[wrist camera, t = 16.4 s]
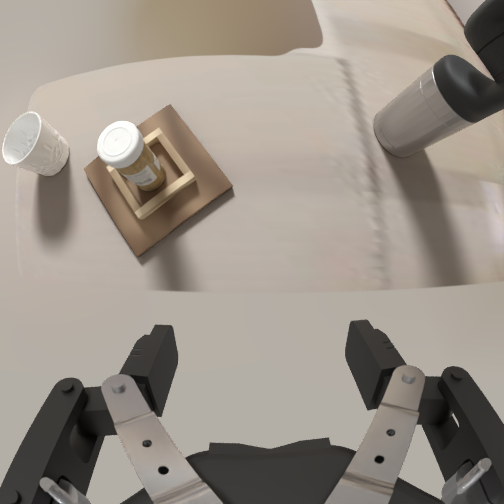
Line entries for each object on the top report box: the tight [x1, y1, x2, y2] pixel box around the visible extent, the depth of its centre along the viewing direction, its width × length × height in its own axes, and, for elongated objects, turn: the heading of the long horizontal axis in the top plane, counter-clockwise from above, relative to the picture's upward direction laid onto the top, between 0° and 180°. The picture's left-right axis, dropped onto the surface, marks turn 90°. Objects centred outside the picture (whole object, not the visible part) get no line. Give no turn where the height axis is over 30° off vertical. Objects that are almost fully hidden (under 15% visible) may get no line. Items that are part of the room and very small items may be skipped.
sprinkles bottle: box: [97, 121, 165, 191], centre depth 30 cm, size 5×5×14 cm
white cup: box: [2, 112, 69, 176], centre depth 31 cm, size 8×8×10 cm
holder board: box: [84, 104, 233, 257], centre depth 36 cm, size 16×16×3 cm
